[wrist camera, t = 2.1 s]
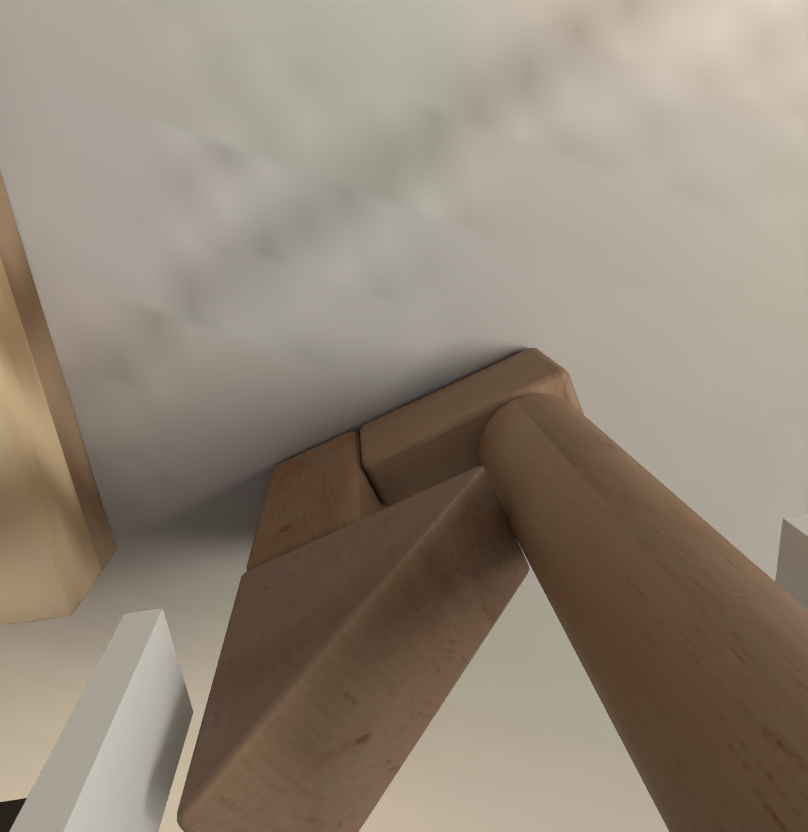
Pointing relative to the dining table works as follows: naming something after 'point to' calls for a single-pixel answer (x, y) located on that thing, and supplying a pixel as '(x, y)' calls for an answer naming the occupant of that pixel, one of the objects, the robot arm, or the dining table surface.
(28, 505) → the wooden tray
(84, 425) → the dining table surface
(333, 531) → the wooden block
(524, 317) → the dining table surface
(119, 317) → the dining table surface
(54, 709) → the dining table surface
